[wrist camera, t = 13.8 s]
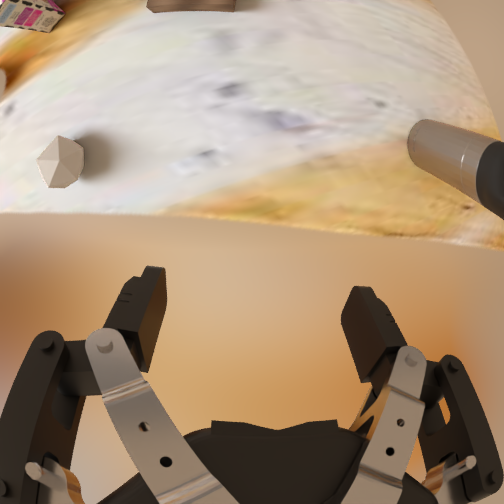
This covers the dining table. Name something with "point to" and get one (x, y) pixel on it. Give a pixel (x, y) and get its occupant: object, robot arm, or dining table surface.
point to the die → (61, 162)
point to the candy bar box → (30, 14)
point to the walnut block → (190, 5)
